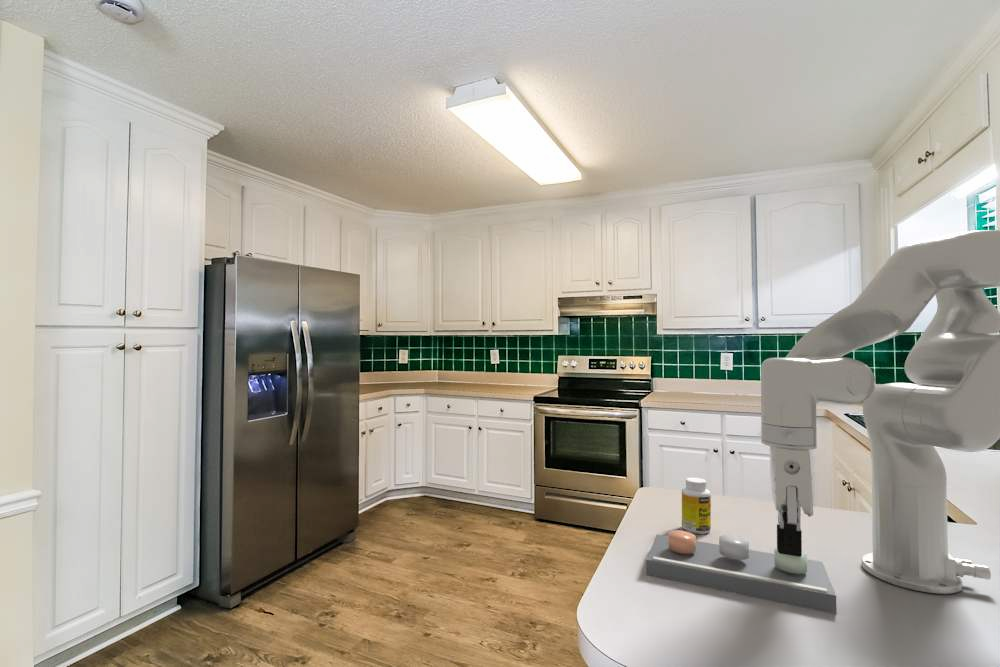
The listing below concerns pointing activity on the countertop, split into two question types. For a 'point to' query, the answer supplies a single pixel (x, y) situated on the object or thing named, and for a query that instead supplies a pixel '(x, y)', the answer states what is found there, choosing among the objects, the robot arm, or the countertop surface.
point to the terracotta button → (682, 542)
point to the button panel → (743, 575)
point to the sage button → (790, 562)
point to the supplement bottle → (696, 506)
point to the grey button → (734, 547)
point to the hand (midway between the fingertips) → (789, 553)
